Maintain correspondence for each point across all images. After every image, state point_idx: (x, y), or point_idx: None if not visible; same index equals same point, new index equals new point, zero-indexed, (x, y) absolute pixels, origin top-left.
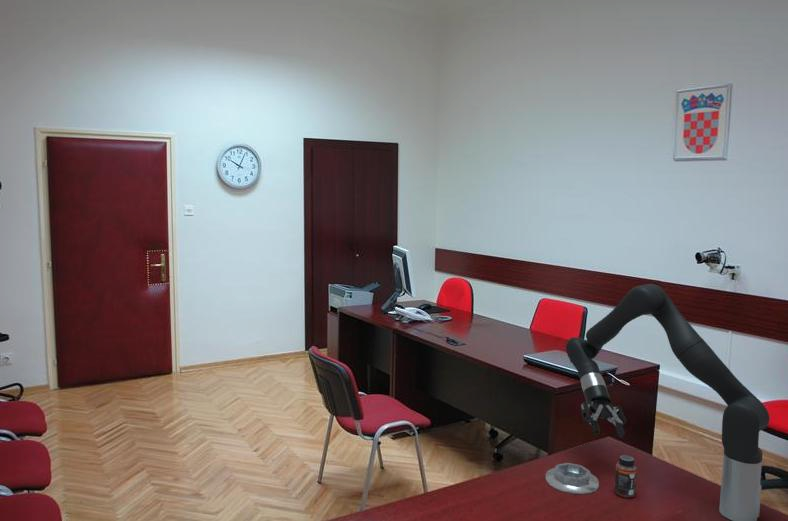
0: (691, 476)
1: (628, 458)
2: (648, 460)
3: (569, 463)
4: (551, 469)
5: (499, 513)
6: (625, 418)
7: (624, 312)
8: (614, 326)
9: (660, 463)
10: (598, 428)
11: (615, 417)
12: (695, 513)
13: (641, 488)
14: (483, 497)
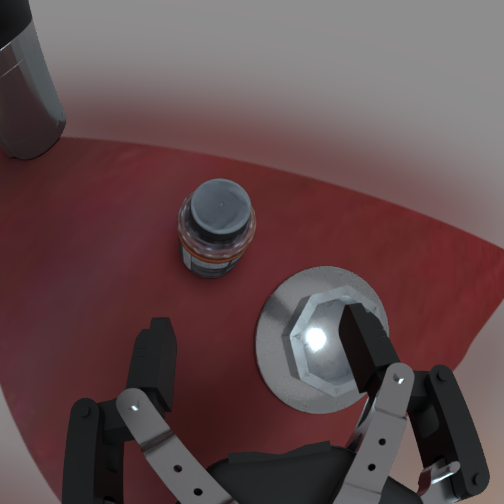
0: None
1: (217, 198)
2: (29, 418)
3: (330, 392)
4: (360, 394)
5: (461, 231)
6: (70, 428)
7: None
8: None
9: (9, 391)
10: (365, 318)
11: (174, 436)
12: (103, 142)
13: (139, 270)
14: (474, 283)
